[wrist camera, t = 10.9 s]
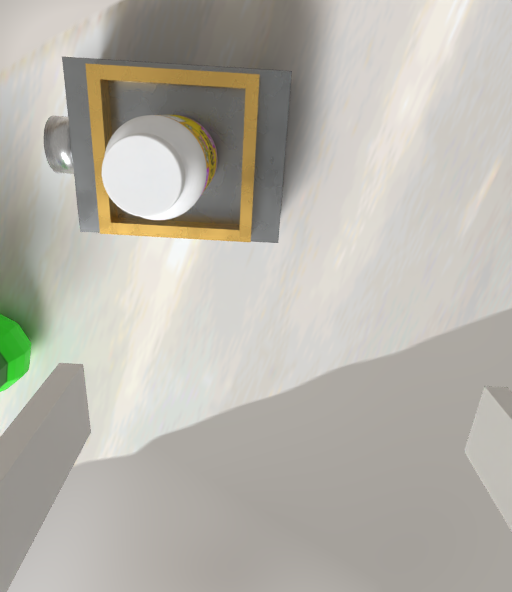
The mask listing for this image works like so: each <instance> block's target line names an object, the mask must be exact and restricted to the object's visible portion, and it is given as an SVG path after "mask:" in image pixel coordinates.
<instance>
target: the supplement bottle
mask: <svg viewBox="0 0 512 592" xmlns="http://www.w3.org/2000/svg"><path fill="white" fill-rule="evenodd" d="M216 168H217V151H216V147H215V144H214V141H213V139H212V137H211V136H210V134H209V133H208V132H207V130H206V129H205V128H204V127H203V126H202V125H201V124H199V123H198V122H196V121H195V120H193V119H191V118H188V117H185V116H180V115H146V116H140V117H136V118H134V119H131V120H129V121H127V122H126V123H124V124H123V125H122V126H120V127H119V128H118V129H117V130H116V131H115V133H114V134H113V135H112V137H111V139H110V140H109V142H108V144H107V147H106V151H105V155H104V160H103V163H102V180H103V184H104V187H105V190H106V192H107V193H108V195H109V197H110V198H111V200H112V201H113V202H114V203H115V204H116V205H117V206H118V207H120V208H121V209H122V210H124V211H126V212H127V213H129V214H132V215H135V216H140V217H142V218H146V219H150V220H166V219H172V218H175V217H177V216H180V215H182V214H183V213H185V212H186V211H188V210H189V209H190V208H191V207H192V206H193V205H194V204H195V203H196V202H197V200H198V199H199V197H200V196H201V195H202V193H203V192H204V191H205V189H206V188H207V187H208V185H209V184H210V182H211V181H212V179H213V177H214V175H215V172H216Z"/></svg>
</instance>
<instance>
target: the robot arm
mask: <svg viewBox="0 0 512 592" xmlns="http://www.w3.org/2000/svg"><path fill="white" fill-rule="evenodd" d="M90 433H91V429H90V420H89V411H88V403H87V394H86V385H85V377H84V368H83V364H68V363H59V364H58V365H57V367H56V368H55V369H54V370H53V372H52V373H51V374H50V375H49V377H48V378H47V379H46V380H45V382H44V383H43V384H42V385H41V387H40V388H39V389H38V391H37V392H36V393H35V394H34V396H33V397H32V398H31V399H30V401H29V402H28V403H27V404H26V406H25V407H24V408H23V409H22V411H21V412H20V413H19V414H18V416H17V417H16V418H15V419H14V421H13V422H12V423H11V424H10V426H9V427H8V428H7V430H6V431H5V432H4V433H3V435H2V436H1V437H0V592H7V590H8V588H9V586H10V584H11V582H12V580H13V579H14V577H15V575H16V573H17V571H18V569H19V567H20V565H21V563H22V562H23V560H24V558H25V556H26V554H27V552H28V550H29V548H30V546H31V544H32V543H33V541H34V539H35V537H36V535H37V533H38V531H39V529H40V527H41V526H42V524H43V522H44V520H45V518H46V516H47V514H48V512H49V510H50V508H51V507H52V505H53V503H54V501H55V499H56V497H57V495H58V493H59V491H60V489H61V488H62V486H63V484H64V482H65V480H66V478H67V476H68V474H69V472H70V471H71V469H72V467H73V465H74V463H75V461H76V459H77V457H78V455H79V454H80V452H81V450H82V448H83V446H84V444H85V442H86V440H87V438H88V436H89V435H90ZM464 452H465V454H466V455H467V457H468V459H469V461H470V462H471V464H472V466H473V467H474V469H475V471H476V472H477V474H478V476H479V477H480V479H481V481H482V483H483V484H484V486H485V487H486V489H487V491H488V493H489V494H490V496H491V498H492V499H493V501H494V503H495V504H496V506H497V508H498V510H499V511H500V513H501V514H502V516H503V518H504V520H505V521H506V523H507V525H508V526H509V528H510V530H511V531H512V392H511V391H510V390H509V388H508V387H492V386H484V389H483V393H482V396H481V399H480V402H479V406H478V409H477V412H476V415H475V418H474V421H473V425H472V428H471V431H470V434H469V437H468V440H467V444H466V447H465V450H464Z"/></svg>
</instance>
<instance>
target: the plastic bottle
mask: <svg viewBox="0 0 512 592" xmlns="http://www.w3.org/2000/svg"><path fill="white" fill-rule="evenodd" d="M30 352H31V342H30V340H29V339H28V337H27V336H26V334H25V333H24V331H23V330H22V328H21V327H20V325H19V324H18V323H17V322H15V321H13V320H11V319H9V318H7V317H5V316H3V315H1V314H0V392H1V391H3V390H6V389H8V388H9V387H10V386H11V385H12V384H14V383H15V382H16V381H17V380H19V379H20V378H21V377H22V376H23V375H24V374H25V373H26V372H27V371H28V370H29V364H30Z"/></svg>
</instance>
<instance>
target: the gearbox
mask: <svg viewBox="0 0 512 592" xmlns="http://www.w3.org/2000/svg"><path fill="white" fill-rule="evenodd" d="M62 60H63V70H64V80H65V89H66V99H67V109H68V117H64V116H51V117H50V118H49V119H48V120H47V122H46V125H45V129H44V148H45V154H46V157H47V160H48V163H49V165H50V167H51V168H52V169H53V171H55V172H56V173H69V174H74V176H75V186H76V195H77V205H78V215H79V224H80V231H81V232H98V233H100V234H118V235H135V236H152V237H170V238H187V239H204V240H221V241H239V242H251V241H253V242H271V243H278V238H279V225H280V213H281V200H282V187H283V175H284V162H285V149H286V137H287V124H288V112H289V99H290V86H291V74H292V71H281V70H265V69H249V68H233V67H217V66H201V65H185V64H170V63H154V62H138V61H122V60H106V59H90V58H74V57H62ZM146 115H180V116H185V117H188V118H191V119H193V120H195V121H196V122H198V123H199V124H201V125H202V126H203V127H204V128H205V129H206V130H207V132H208V133H209V134H210V136H211V137H212V139H213V141H214V144H215V147H216V151H217V168H216V172H215V175H214V177H213V179H212V181H211V182H210V184H209V185H208V187H207V188H206V189H205V191H204V192H203V193H202V195H201V196H200V197H199V199H198V200H197V202H196V203H195V204H194V205H193V206H192V207H191V208H190V209H189V210H188V211H186V212H185V213H183V214H182V215H180V216H177V217H175V218H172V219H166V220H150V219H146V218H142V217H140V216H135V215H132V214H129V213H127V212H126V211H124V210H122V209H121V208H120V207H118V206H117V205H116V204H115V203H114V202H113V201H112V200H111V198H110V197H109V195H108V193H107V192H106V190H105V187H104V184H103V180H102V163H103V160H104V155H105V151H106V147H107V144H108V142H109V140H110V139H111V137H112V135H113V134H114V133H115V131H116V130H117V129H118V128H119V127H120V126H122V125H123V124H124V123H126V122H127V121H129V120H131V119H134V118H136V117H140V116H146Z"/></svg>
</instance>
